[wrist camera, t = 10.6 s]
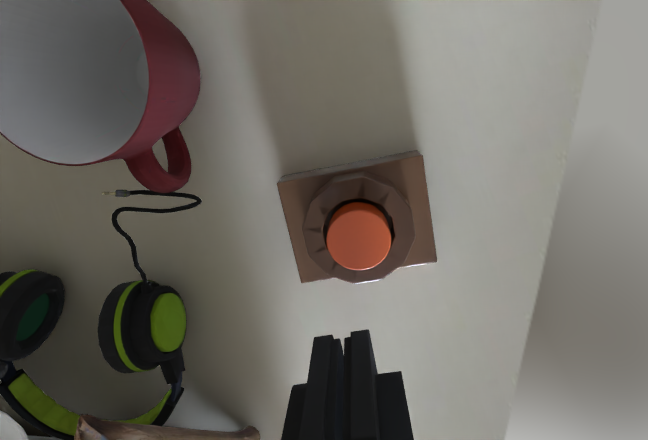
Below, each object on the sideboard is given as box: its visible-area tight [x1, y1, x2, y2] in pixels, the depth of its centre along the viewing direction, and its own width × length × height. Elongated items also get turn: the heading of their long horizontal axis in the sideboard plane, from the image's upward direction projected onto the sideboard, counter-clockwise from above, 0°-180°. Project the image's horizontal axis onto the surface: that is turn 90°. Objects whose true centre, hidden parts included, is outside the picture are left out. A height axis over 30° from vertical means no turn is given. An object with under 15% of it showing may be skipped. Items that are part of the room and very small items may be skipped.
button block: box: [277, 150, 437, 284], centre depth 25 cm, size 9×7×4 cm
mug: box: [0, 0, 201, 193], centre depth 21 cm, size 11×8×10 cm
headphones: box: [0, 190, 202, 440], centre depth 26 cm, size 16×10×20 cm
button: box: [326, 202, 391, 270], centre depth 23 cm, size 4×4×2 cm
